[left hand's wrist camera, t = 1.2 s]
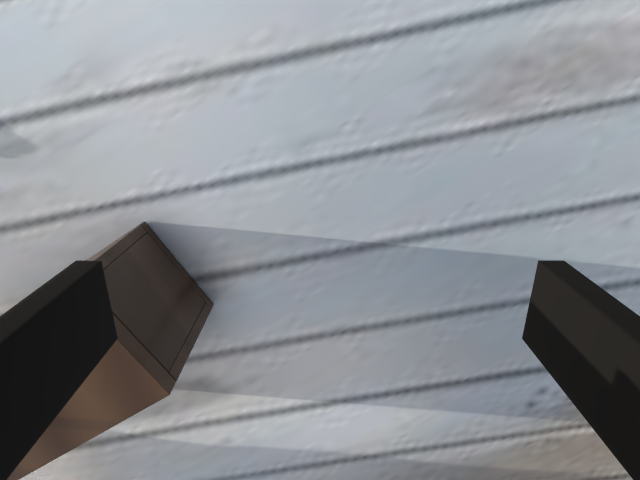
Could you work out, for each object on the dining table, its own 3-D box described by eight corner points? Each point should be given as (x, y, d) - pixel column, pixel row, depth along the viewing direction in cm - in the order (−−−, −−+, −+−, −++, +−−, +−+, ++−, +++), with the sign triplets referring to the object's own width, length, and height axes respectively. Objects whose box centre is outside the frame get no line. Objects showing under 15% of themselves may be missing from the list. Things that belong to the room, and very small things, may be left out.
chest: (83, 382, 40) (8, 476, 30) (9, 312, 37) (-98, 390, 28) (214, 304, 37) (177, 380, 27) (144, 221, 34) (76, 273, 25)
